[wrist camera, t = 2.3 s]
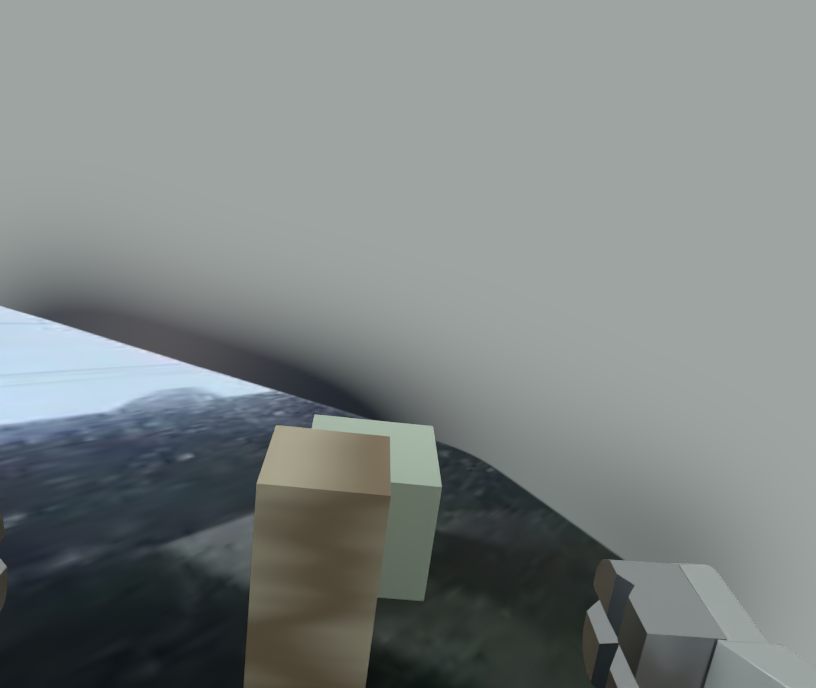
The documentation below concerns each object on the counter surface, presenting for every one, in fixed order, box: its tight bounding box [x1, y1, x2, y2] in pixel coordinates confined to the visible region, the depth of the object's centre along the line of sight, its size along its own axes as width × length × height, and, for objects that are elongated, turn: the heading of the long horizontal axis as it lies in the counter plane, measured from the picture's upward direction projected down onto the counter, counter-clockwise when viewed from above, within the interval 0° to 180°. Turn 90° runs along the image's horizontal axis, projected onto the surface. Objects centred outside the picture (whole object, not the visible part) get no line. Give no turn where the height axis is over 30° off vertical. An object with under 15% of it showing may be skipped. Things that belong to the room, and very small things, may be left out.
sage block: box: [312, 415, 442, 601], centre depth 34 cm, size 6×6×6 cm
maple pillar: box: [244, 425, 391, 688], centre depth 25 cm, size 4×4×10 cm
